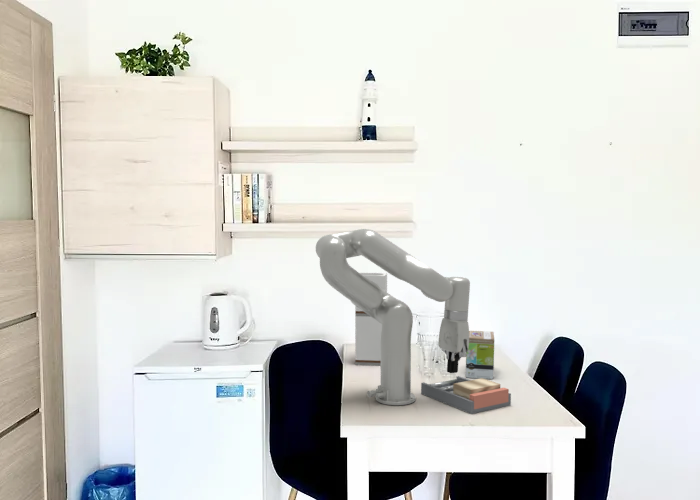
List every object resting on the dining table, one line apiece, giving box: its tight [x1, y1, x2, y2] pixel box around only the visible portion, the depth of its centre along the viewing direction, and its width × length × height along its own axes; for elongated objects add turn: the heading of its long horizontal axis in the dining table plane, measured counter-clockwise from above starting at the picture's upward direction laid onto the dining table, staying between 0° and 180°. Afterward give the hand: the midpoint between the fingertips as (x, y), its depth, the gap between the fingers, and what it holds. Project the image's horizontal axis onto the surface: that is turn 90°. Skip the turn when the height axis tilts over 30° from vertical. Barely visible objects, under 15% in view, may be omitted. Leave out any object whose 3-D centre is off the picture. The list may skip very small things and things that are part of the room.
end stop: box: [470, 387, 510, 409], centre depth 188 cm, size 14×2×4 cm, turn 121°
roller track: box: [420, 375, 512, 415], centre depth 197 cm, size 16×24×4 cm, turn 31°
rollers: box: [428, 379, 470, 400], centre depth 198 cm, size 12×22×2 cm, turn 31°
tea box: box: [465, 330, 495, 380], centre depth 228 cm, size 15×10×15 cm
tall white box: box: [354, 272, 388, 367], centre depth 245 cm, size 11×11×35 cm
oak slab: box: [453, 378, 501, 399], centre depth 192 cm, size 12×8×3 cm, turn 121°
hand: (452, 372), depth 200 cm, fingers closed
